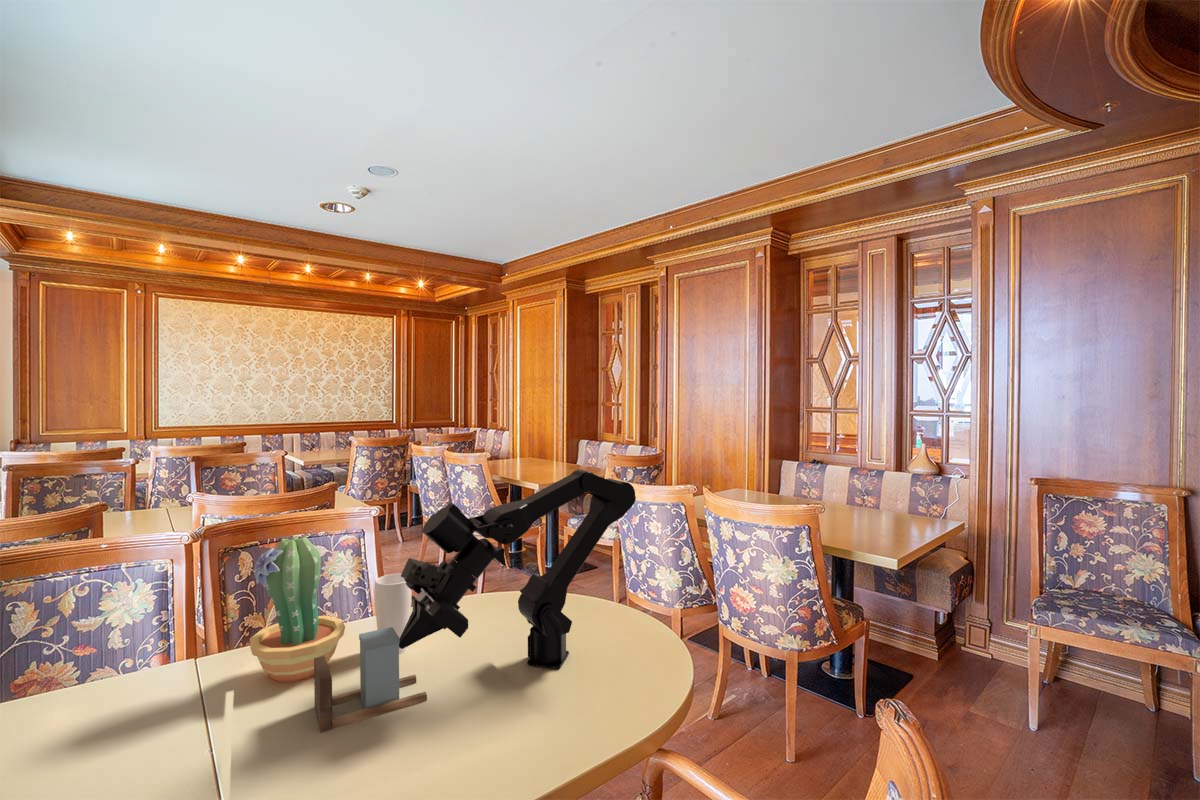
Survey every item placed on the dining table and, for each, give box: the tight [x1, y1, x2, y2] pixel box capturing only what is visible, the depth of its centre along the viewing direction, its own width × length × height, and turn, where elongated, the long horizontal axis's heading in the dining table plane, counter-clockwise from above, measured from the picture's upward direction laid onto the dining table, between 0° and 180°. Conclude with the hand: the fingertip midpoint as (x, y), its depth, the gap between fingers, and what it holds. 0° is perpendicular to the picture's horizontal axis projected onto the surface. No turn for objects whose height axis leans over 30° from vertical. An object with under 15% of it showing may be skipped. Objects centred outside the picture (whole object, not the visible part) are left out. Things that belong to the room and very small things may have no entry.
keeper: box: [358, 627, 400, 709], centre depth 91 cm, size 5×5×11 cm
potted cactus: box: [249, 535, 346, 683], centre depth 101 cm, size 15×15×25 cm
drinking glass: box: [374, 573, 413, 655], centre depth 109 cm, size 7×7×15 cm
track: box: [313, 656, 428, 734], centre depth 90 cm, size 16×8×9 cm, turn 122°
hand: (399, 646), depth 92 cm, fingers closed
